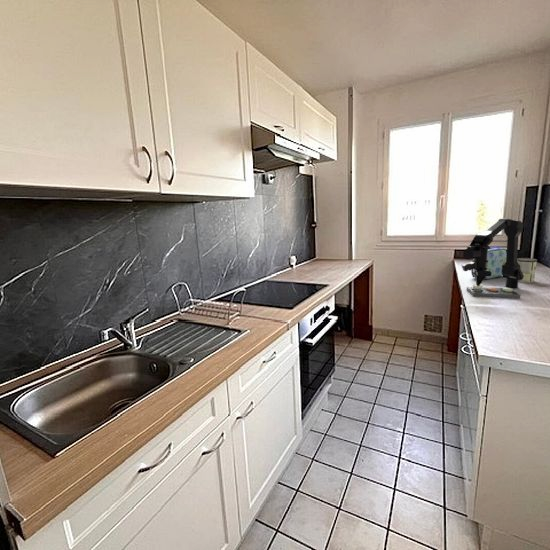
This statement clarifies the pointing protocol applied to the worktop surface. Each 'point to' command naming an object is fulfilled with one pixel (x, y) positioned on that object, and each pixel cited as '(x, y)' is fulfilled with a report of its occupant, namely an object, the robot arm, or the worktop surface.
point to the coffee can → (527, 269)
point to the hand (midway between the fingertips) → (477, 285)
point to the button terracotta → (492, 289)
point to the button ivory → (477, 288)
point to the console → (493, 293)
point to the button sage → (507, 290)
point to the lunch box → (495, 261)
